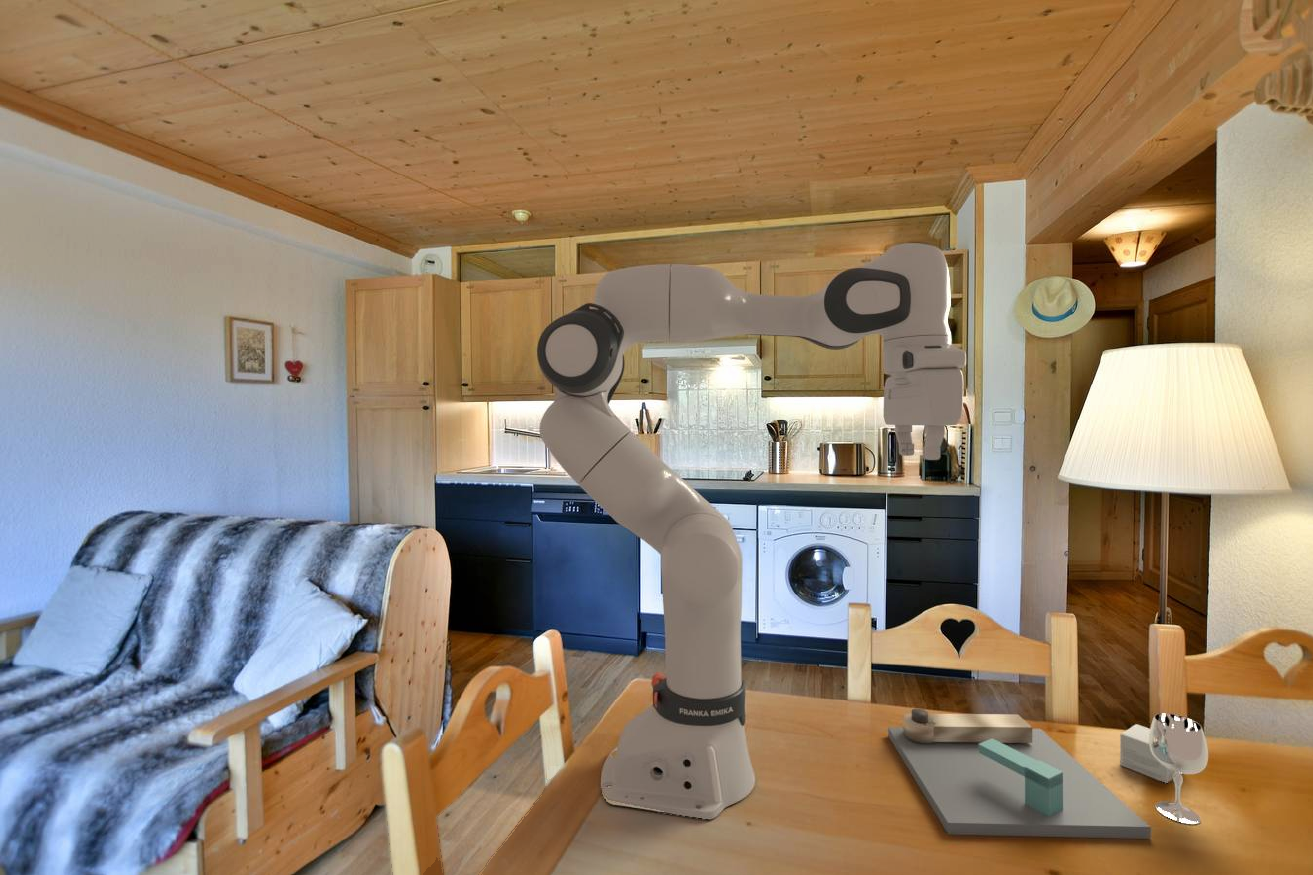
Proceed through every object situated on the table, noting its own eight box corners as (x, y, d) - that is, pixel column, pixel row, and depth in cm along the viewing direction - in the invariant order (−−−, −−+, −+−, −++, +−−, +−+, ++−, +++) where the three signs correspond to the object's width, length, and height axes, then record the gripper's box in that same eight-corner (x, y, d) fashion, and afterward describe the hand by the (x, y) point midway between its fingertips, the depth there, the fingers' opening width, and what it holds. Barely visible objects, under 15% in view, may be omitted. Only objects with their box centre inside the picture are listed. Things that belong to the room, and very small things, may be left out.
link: (910, 742, 91) (909, 719, 91) (899, 726, 96) (899, 704, 96) (1033, 744, 90) (1033, 720, 90) (1016, 727, 94) (1016, 705, 94)
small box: (1183, 772, 85) (1183, 738, 85) (1167, 785, 82) (1167, 751, 82) (1135, 753, 90) (1135, 722, 90) (1118, 765, 87) (1119, 733, 87)
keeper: (978, 776, 83) (978, 742, 83) (992, 770, 84) (992, 736, 84) (1049, 816, 74) (1048, 778, 74) (1063, 809, 75) (1062, 771, 75)
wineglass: (1220, 830, 73) (1220, 735, 73) (1166, 825, 74) (1166, 731, 74) (1188, 801, 79) (1188, 712, 78) (1139, 796, 80) (1138, 709, 80)
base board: (948, 834, 74) (948, 822, 73) (888, 736, 96) (888, 727, 96) (1150, 838, 72) (1150, 826, 72) (1040, 737, 95) (1040, 728, 95)
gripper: (872, 367, 94) (874, 453, 95) (920, 353, 74) (922, 462, 74) (912, 366, 94) (914, 452, 94) (972, 351, 73) (974, 461, 74)
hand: (918, 457), depth 84 cm, fingers open, 8 cm apart
